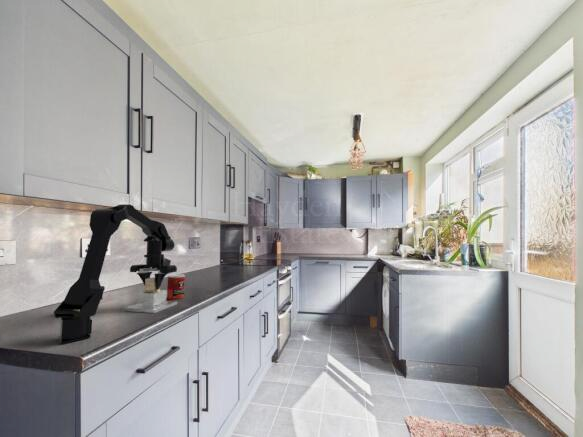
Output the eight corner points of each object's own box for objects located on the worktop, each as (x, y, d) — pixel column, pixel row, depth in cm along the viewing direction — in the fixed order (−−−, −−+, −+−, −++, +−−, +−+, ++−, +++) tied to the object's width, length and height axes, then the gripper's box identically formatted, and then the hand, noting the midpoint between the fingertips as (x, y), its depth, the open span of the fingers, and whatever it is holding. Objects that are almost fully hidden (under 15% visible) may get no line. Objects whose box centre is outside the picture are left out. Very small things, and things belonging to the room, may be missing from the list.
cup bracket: (154, 313, 100) (155, 296, 101) (124, 310, 103) (124, 294, 104) (177, 303, 114) (177, 289, 114) (150, 302, 117) (150, 287, 117)
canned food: (173, 300, 120) (174, 276, 120) (163, 298, 124) (164, 275, 125) (187, 297, 126) (188, 274, 127) (177, 295, 130) (178, 273, 131)
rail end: (152, 301, 106) (153, 279, 107) (144, 301, 107) (145, 279, 108) (159, 299, 110) (160, 277, 111) (151, 298, 111) (152, 277, 112)
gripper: (185, 251, 116) (184, 286, 115) (149, 251, 120) (147, 285, 119) (168, 252, 105) (167, 291, 104) (129, 252, 109) (128, 289, 108)
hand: (152, 289), depth 109 cm, fingers open, 5 cm apart
